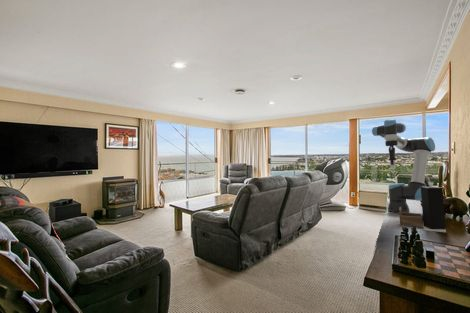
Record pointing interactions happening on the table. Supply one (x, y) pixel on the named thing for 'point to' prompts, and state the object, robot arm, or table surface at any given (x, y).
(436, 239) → the table surface
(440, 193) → the black tall block
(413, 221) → the book bay
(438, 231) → the felt mat
